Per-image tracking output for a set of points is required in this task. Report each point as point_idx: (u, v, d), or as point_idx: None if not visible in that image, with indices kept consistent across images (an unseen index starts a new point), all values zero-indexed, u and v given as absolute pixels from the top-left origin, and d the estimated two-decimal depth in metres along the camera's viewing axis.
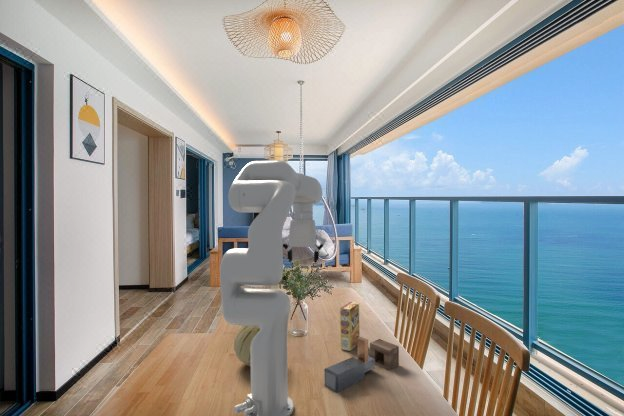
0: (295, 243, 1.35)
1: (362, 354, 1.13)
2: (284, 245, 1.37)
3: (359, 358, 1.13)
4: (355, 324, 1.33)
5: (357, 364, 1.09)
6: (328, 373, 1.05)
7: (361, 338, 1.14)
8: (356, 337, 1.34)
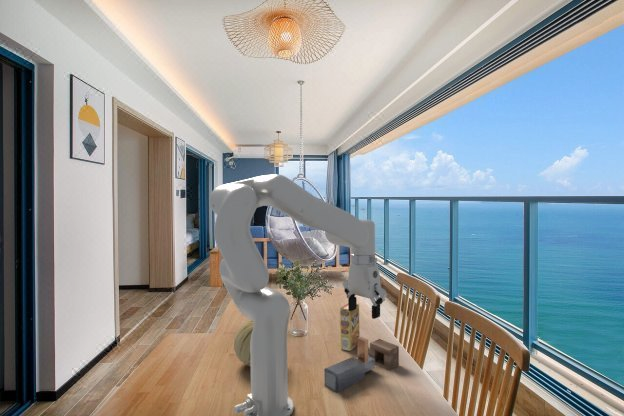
0: None
1: (362, 354, 1.13)
2: None
3: (359, 358, 1.13)
4: (355, 324, 1.33)
5: (357, 364, 1.09)
6: (328, 373, 1.05)
7: (361, 338, 1.14)
8: (356, 337, 1.34)
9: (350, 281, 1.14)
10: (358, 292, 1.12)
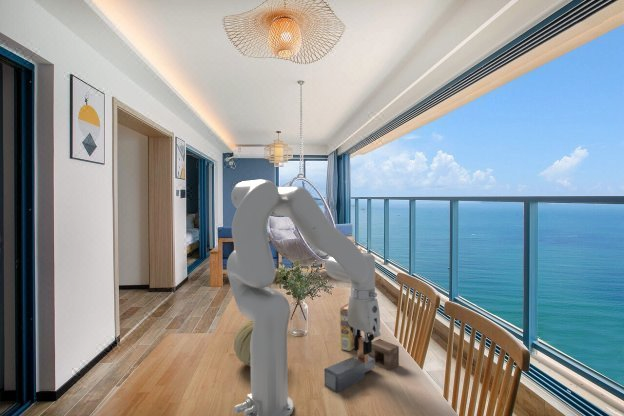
0: None
1: (362, 354, 1.13)
2: None
3: (359, 358, 1.13)
4: None
5: (357, 364, 1.09)
6: (328, 373, 1.05)
7: (361, 338, 1.14)
8: None
9: (349, 314, 1.14)
10: (357, 326, 1.12)
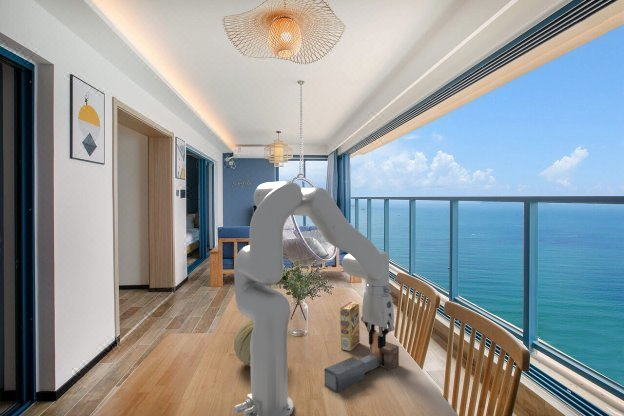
0: None
1: (376, 348, 1.17)
2: None
3: (373, 352, 1.18)
4: (355, 324, 1.33)
5: (357, 364, 1.09)
6: (328, 373, 1.05)
7: (375, 332, 1.18)
8: (356, 337, 1.34)
9: (364, 310, 1.19)
10: (372, 321, 1.16)
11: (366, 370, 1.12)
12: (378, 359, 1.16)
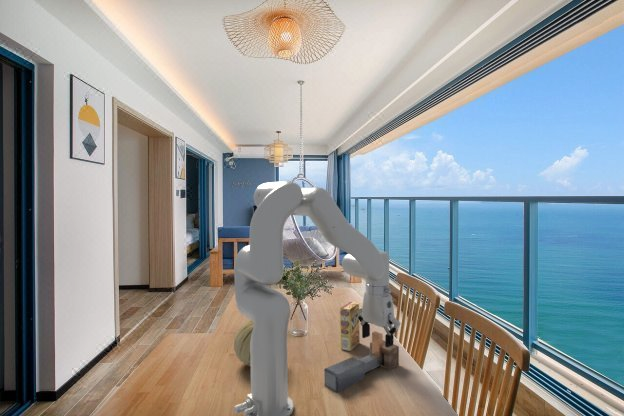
0: None
1: (376, 348, 1.17)
2: None
3: (374, 352, 1.18)
4: (355, 324, 1.33)
5: (357, 364, 1.09)
6: (328, 373, 1.05)
7: (375, 332, 1.18)
8: (356, 337, 1.34)
9: (364, 310, 1.19)
10: (372, 321, 1.16)
11: (366, 370, 1.12)
12: (378, 359, 1.16)
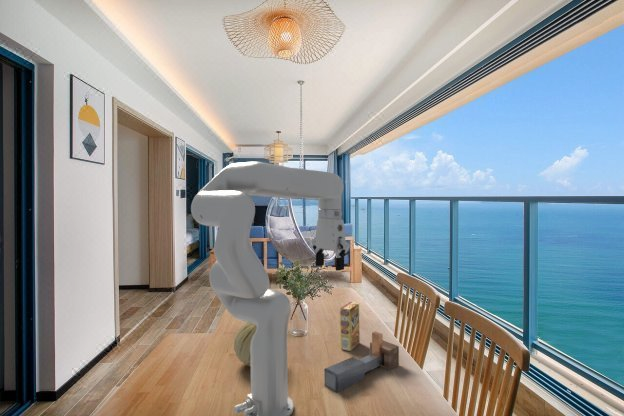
0: None
1: (376, 348, 1.17)
2: None
3: (374, 352, 1.18)
4: (355, 324, 1.33)
5: (357, 364, 1.09)
6: (328, 373, 1.05)
7: (375, 332, 1.18)
8: (356, 337, 1.34)
9: (317, 236, 1.18)
10: (324, 246, 1.16)
11: (366, 370, 1.12)
12: (378, 359, 1.16)
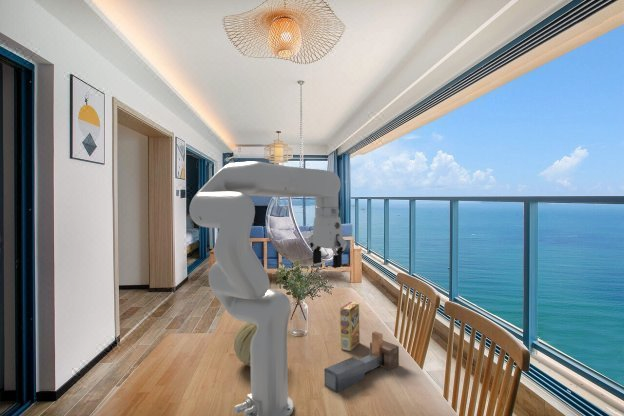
0: None
1: (376, 348, 1.17)
2: None
3: (374, 352, 1.18)
4: (355, 324, 1.33)
5: (357, 364, 1.09)
6: (328, 373, 1.05)
7: (375, 332, 1.18)
8: (356, 337, 1.34)
9: (314, 234, 1.18)
10: (321, 243, 1.16)
11: (366, 370, 1.12)
12: (378, 359, 1.16)
